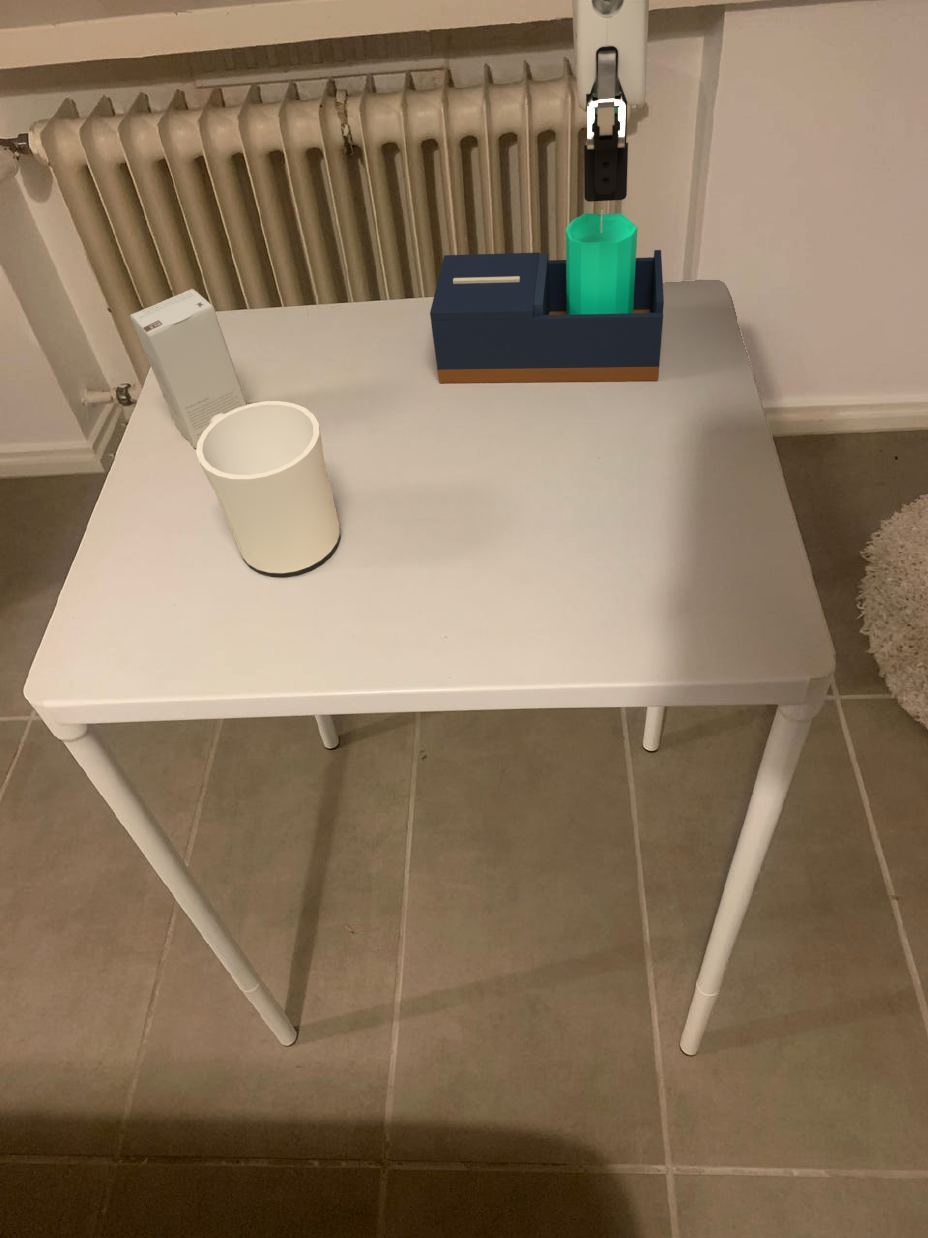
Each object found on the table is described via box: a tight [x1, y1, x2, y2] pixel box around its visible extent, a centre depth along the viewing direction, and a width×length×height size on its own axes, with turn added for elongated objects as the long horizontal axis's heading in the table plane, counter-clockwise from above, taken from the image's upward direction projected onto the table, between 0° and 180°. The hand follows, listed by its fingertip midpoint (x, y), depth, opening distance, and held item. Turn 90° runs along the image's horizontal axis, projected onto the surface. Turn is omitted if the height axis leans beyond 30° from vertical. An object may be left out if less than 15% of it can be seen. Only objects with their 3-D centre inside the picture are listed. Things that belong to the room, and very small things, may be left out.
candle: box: [565, 209, 639, 315], centre depth 82 cm, size 6×6×12 cm
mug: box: [195, 400, 341, 578], centre depth 70 cm, size 11×9×10 cm
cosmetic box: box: [129, 288, 248, 449], centre depth 80 cm, size 6×4×12 cm
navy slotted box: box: [429, 249, 665, 384], centre depth 85 cm, size 20×10×8 cm, turn 84°
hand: (606, 171), depth 75 cm, fingers open, 9 cm apart
